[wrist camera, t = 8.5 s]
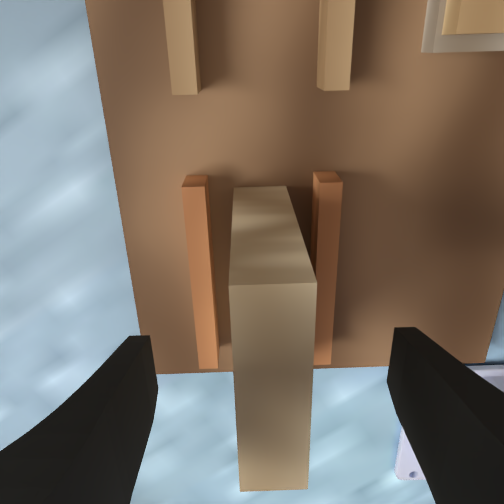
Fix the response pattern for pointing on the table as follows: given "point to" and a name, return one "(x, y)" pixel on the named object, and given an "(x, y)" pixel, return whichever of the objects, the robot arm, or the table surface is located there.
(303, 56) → the rack
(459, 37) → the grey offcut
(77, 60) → the table surface
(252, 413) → the birch board
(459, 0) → the oak offcut
